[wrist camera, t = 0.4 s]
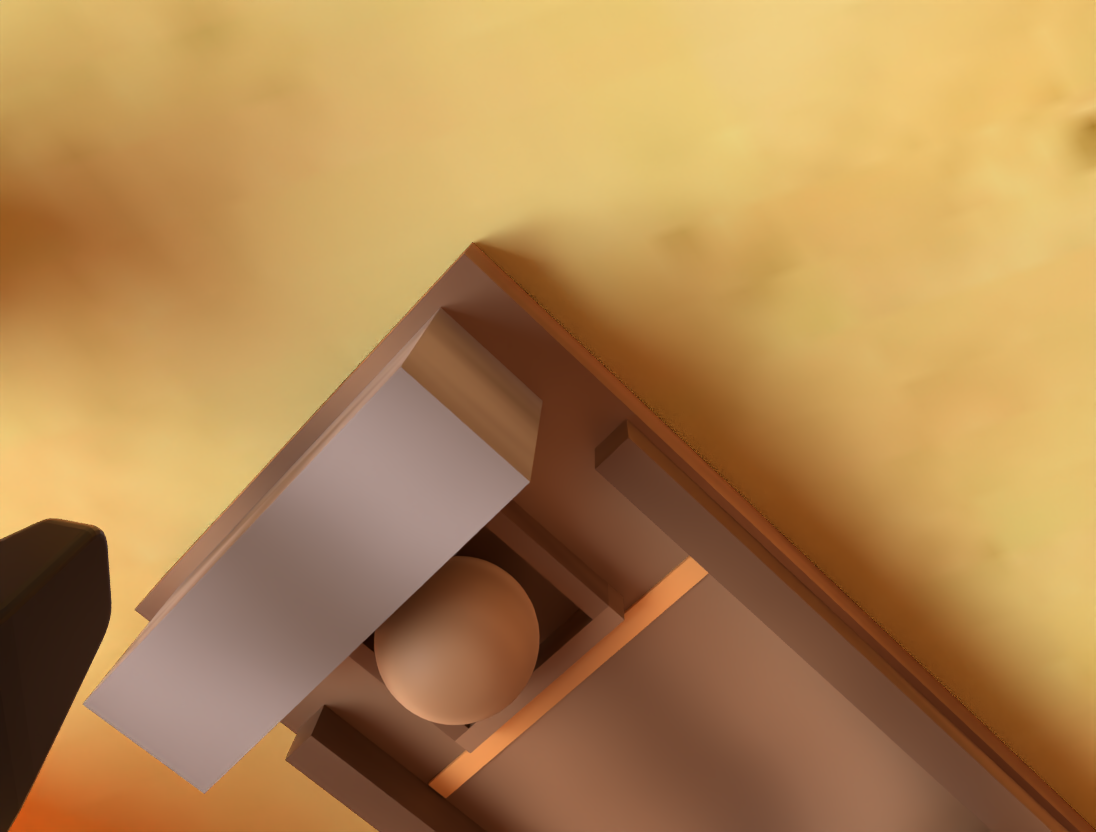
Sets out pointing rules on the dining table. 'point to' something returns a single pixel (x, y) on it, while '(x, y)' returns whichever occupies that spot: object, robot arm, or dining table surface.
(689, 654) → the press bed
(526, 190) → the dining table surface
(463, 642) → the tan ball
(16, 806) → the robot arm
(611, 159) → the dining table surface
